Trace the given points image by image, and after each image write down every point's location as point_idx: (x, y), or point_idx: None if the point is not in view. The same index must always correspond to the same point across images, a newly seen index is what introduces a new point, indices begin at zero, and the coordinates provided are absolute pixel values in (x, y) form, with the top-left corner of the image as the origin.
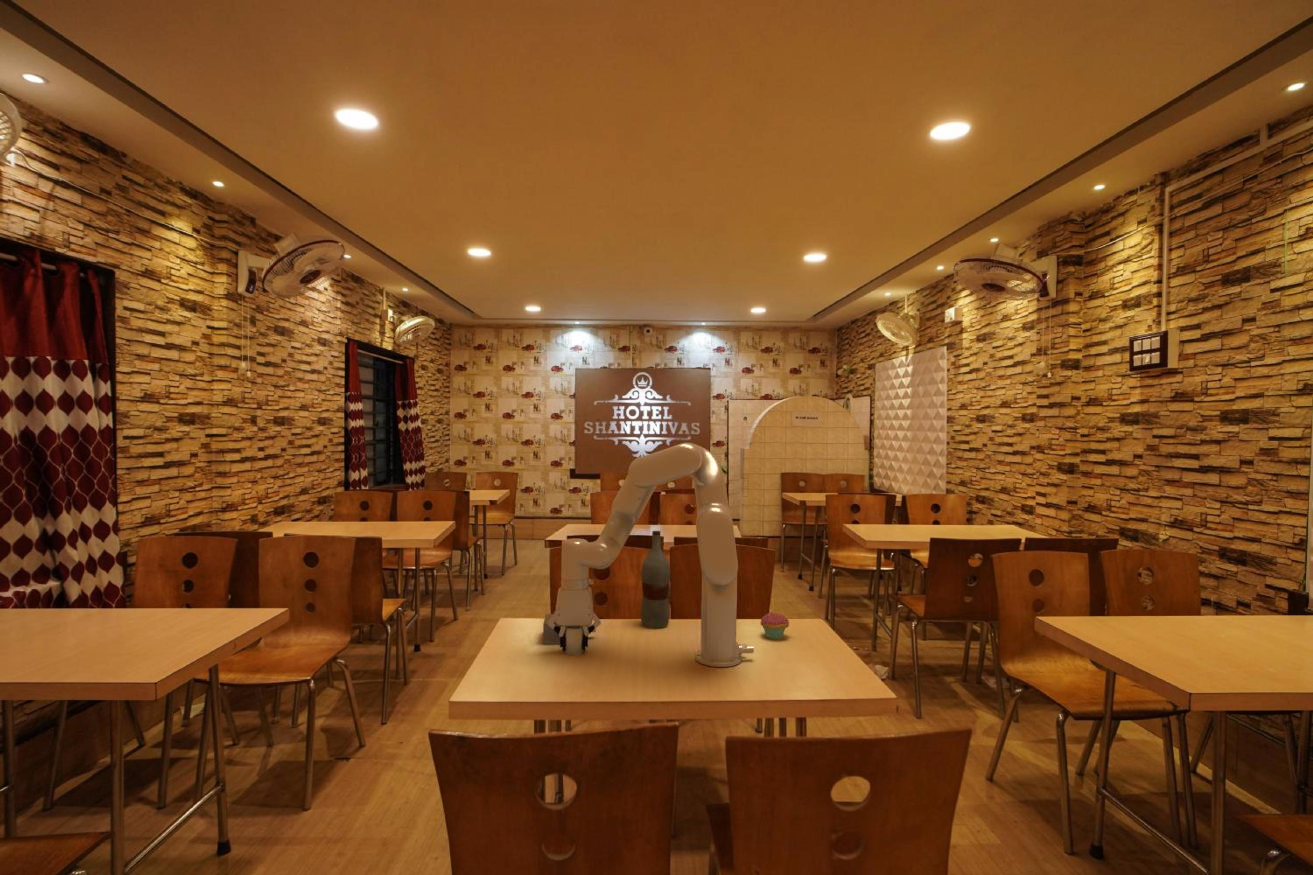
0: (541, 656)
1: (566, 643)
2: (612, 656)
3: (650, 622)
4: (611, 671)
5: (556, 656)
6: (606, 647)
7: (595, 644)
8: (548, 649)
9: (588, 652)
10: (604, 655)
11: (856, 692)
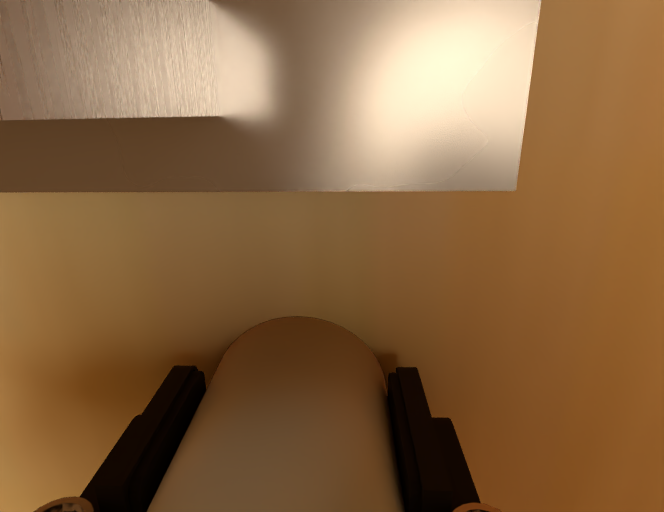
0: (33, 463)
1: None
2: (635, 500)
3: None
4: None
5: None
6: (642, 282)
7: (538, 175)
8: (39, 305)
9: (436, 404)
10: (571, 476)
11: None
